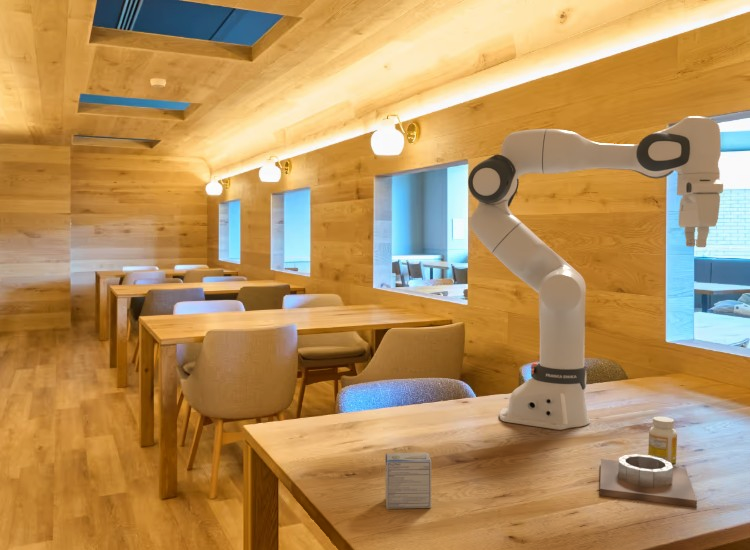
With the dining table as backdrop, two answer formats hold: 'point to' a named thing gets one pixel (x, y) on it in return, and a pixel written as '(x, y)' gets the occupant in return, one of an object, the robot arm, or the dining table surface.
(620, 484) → the holder board
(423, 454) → the medicine box
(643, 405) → the dining table surface
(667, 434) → the supplement bottle
